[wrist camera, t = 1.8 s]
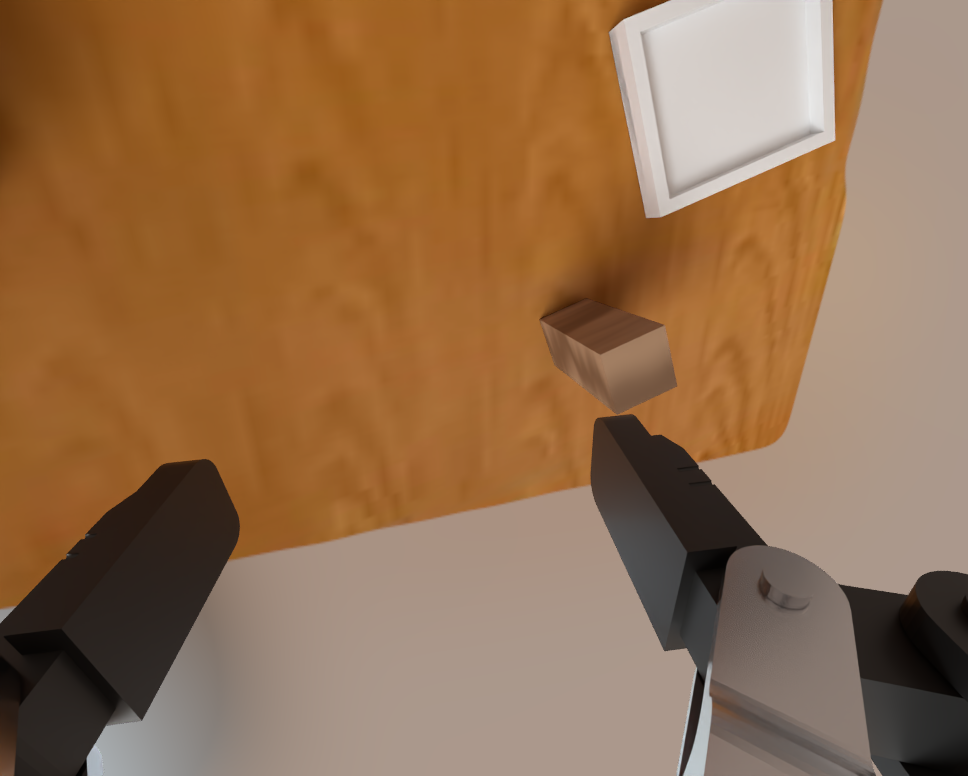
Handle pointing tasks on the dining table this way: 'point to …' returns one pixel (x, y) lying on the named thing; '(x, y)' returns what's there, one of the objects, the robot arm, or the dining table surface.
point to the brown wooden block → (610, 353)
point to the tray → (722, 92)
